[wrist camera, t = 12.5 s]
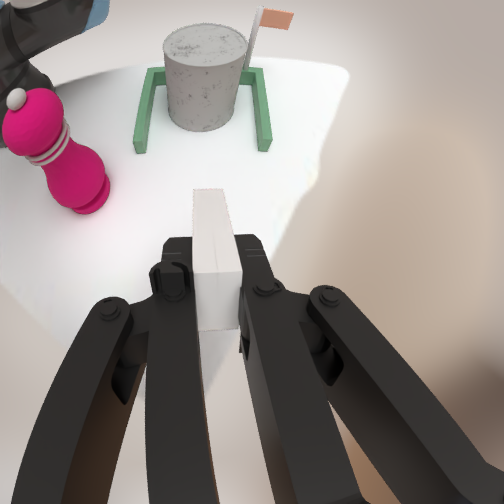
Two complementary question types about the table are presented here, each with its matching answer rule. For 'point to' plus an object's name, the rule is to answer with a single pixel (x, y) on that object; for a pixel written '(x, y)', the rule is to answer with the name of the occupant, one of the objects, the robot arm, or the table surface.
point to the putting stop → (247, 78)
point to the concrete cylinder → (203, 74)
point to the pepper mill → (54, 149)
